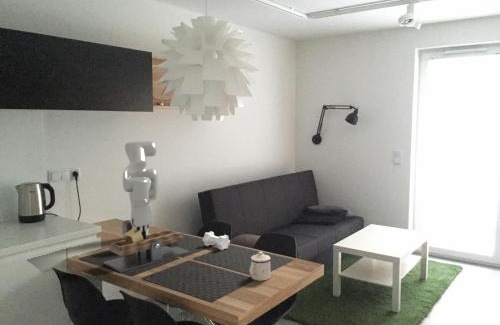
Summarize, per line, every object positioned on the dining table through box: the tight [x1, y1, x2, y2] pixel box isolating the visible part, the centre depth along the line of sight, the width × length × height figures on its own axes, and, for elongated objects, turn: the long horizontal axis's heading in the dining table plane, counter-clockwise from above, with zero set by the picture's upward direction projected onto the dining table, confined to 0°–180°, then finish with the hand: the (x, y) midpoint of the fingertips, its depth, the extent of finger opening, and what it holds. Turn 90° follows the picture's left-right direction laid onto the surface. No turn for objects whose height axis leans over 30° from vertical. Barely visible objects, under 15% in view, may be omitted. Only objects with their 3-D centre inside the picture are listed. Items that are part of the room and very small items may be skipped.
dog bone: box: [201, 230, 231, 251], centre depth 228 cm, size 15×9×8 cm, turn 48°
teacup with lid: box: [249, 251, 272, 282], centre depth 181 cm, size 12×9×12 cm
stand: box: [103, 241, 191, 274], centre depth 210 cm, size 19×40×10 cm, turn 134°
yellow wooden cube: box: [124, 229, 144, 245], centre depth 204 cm, size 6×6×6 cm
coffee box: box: [121, 219, 132, 241], centre depth 226 cm, size 9×6×16 cm
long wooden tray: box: [109, 228, 184, 257], centre depth 210 cm, size 36×12×7 cm, turn 134°
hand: (142, 238), depth 208 cm, fingers closed
